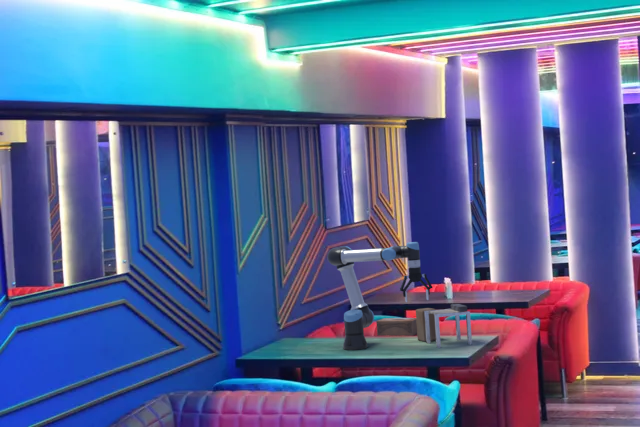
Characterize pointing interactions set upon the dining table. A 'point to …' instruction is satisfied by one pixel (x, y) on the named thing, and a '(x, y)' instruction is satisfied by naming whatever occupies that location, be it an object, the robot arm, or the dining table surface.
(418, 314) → the block
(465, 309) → the trapdoor
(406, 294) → the robot arm
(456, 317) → the frame
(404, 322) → the tissue box cover
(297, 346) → the dining table surface
